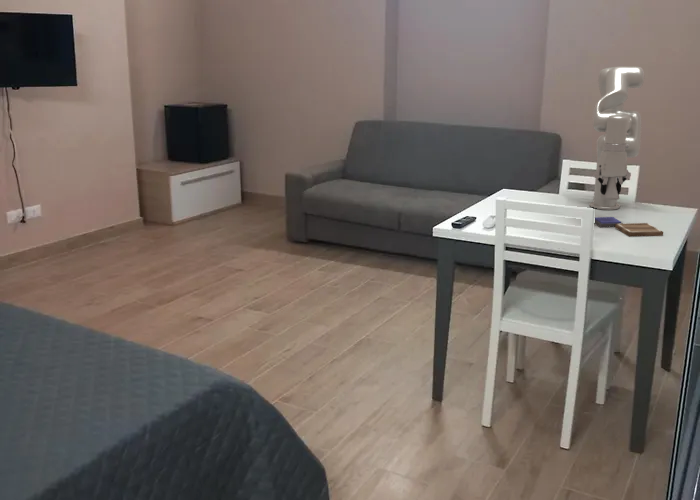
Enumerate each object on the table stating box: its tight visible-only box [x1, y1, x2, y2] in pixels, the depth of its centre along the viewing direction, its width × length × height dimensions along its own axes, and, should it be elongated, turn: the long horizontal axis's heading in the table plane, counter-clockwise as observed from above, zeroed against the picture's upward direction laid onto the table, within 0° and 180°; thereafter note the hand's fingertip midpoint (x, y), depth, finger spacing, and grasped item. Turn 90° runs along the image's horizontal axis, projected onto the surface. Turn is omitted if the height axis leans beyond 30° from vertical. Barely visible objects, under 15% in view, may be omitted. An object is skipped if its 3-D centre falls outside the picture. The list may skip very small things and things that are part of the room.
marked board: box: [614, 222, 664, 238], centre depth 274 cm, size 13×13×2 cm
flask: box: [600, 177, 620, 201], centre depth 280 cm, size 7×7×10 cm
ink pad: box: [594, 216, 623, 229], centre depth 284 cm, size 9×9×2 cm
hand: (610, 193), depth 281 cm, fingers closed on flask, 4 cm apart
